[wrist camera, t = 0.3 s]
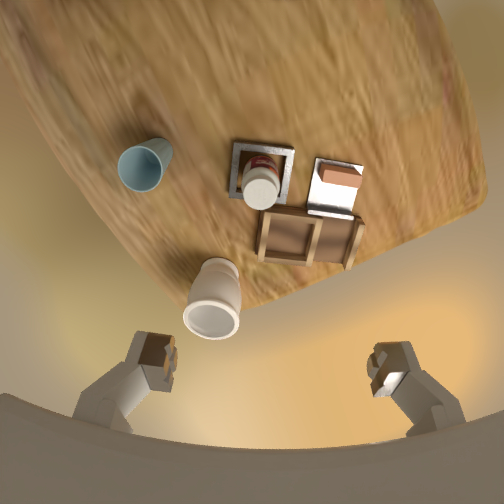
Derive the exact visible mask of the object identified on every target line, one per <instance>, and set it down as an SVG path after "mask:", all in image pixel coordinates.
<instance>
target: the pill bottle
mask: <svg viewBox="0 0 504 504" xmlns="http://www.w3.org/2000/svg"><path fill="white" fill-rule="evenodd" d="M241 188H242V192H243V197H244V200H245V202H246V203H247V205H248V206H250V207H251V208H253V209H256V210H264V209H267V208H269V207H271V206H272V205H273V204H274V203H275V202H276V199H277V195H278V193H279V190H280V181H279V174H278V168H277V165H276V163H275V162H274V161H273V160H272V159H271V158H269V157H267V156H263V155H259V156H255V157H253V158H251V159H250V160H249V161H248V162H247V163H246V165H245V167H244V172H243V178H242V184H241Z"/></svg>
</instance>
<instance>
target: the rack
mask: <svg viewBox="0 0 504 504" xmlns="http://www.w3.org/2000/svg"><path fill="white" fill-rule="evenodd" d="M364 228H365V224H364V222H363V220H362V219H361V217H358V216H354V218H353V220H349V219H342V218H335V217H328V216H321V215H313V214H308V213H307V210H306V209H303V208H295V207H287V206H279V205H272V206H271V207H269V208H267V209H264V210H261V212H260V219H259V227H258V234H257V241H256V248H255V254H257V255H258V258H257V261H259V262H268V263H277V264H287V265H296V266H306V267H311V265H312V261H322V262H332V263H341V264H343V267H344V270H345V271H350V270H351V267H352V264H353V261H354V258H355V255H356V252H357V249H358V246H359V243H360V240H361V237H362V234H363V231H364Z"/></svg>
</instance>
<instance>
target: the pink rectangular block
mask: <svg viewBox="0 0 504 504" xmlns="http://www.w3.org/2000/svg"><path fill="white" fill-rule="evenodd" d="M319 177H320V179H321V181H322V183H329V184H335V185H341V186H347V187H352V188H358V189H360V185H361V181H362V178H363V176H362V175H361V174H360V173H359V171H358V170H355V169H350V168H344V167H339V166H333V165H328V164H322V163H321V167H320V172H319Z"/></svg>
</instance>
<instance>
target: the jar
mask: <svg viewBox="0 0 504 504" xmlns="http://www.w3.org/2000/svg"><path fill="white" fill-rule="evenodd" d="M238 277H239V273H238V269H237V268H236V266H235V265H234V264H233V263H232V262H231V261H229V260H227V259H224V258H211V259H209V260H207V261H205V262H204V263H203V265H202V267H201V270H200V272H199V274H198V275H197V277H196V279H195V281H194V282H193V284H192V286H191V288H190V291H189V295H188V301H187V307H186V308H185V310H184V313H183V320H184V323H185V325H186V326H187V328H188V329H189V330H190V331H192V332H193V333H195V334H196V335H198V336H200V337H203V338H206V339H212V340H219V339H225V338H228V337H230V336H232V335H233V334H234V333H236V331H237V330H238V328H239V322H240V321H239V313H240V309H241V291H240V284H239V280H238Z"/></svg>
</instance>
